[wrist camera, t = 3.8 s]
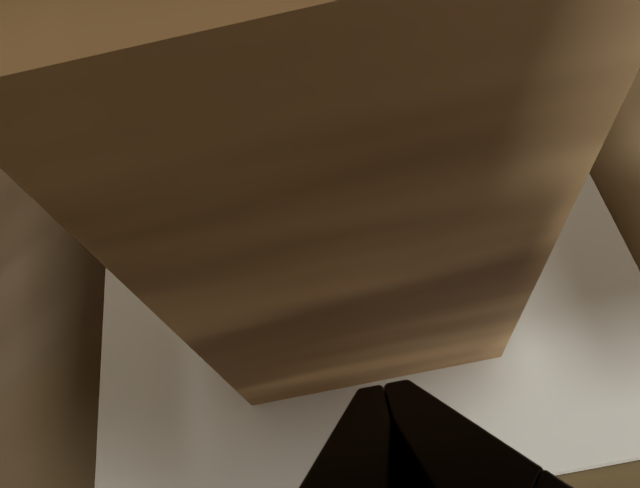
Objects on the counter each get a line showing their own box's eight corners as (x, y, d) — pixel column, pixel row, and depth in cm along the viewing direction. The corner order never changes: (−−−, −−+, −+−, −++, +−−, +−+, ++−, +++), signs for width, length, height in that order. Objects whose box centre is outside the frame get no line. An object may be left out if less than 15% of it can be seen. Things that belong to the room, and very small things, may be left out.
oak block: (501, 357, 15) (711, -85, 5) (251, 405, 15) (-78, 93, 5) (459, 234, 17) (541, -266, 7) (240, 278, 17) (-11, -132, 7)
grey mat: (711, 446, 14) (726, 440, 13) (106, 558, 15) (90, 558, 14) (463, -52, 25) (465, -70, 24) (126, 24, 26) (118, 10, 25)
